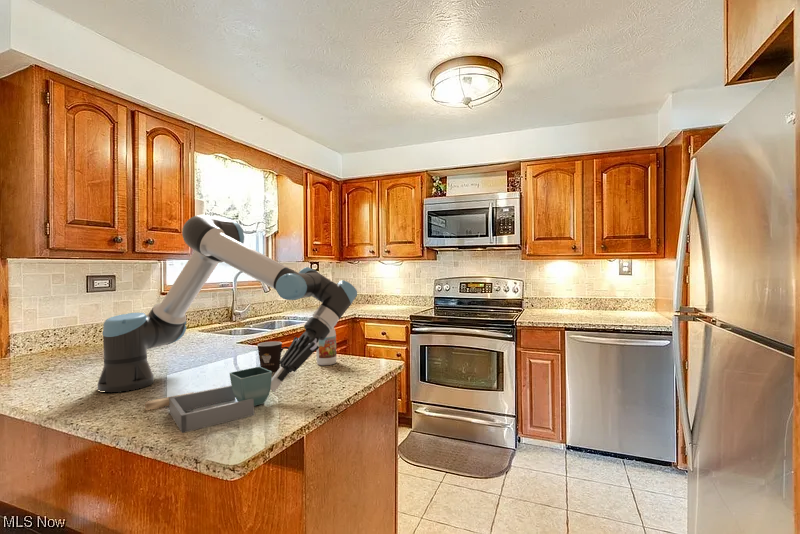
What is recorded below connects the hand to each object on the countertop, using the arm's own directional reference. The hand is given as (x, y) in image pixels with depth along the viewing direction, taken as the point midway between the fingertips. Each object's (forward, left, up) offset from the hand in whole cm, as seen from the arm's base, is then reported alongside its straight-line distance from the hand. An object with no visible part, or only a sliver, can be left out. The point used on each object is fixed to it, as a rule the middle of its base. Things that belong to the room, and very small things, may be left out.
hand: (269, 388), depth 112 cm
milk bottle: (+21, +38, -4) cm, 43 cm away
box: (-15, -4, -3) cm, 16 cm away
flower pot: (-5, -1, -4) cm, 6 cm away
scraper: (-26, +9, -4) cm, 27 cm away
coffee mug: (+1, +34, -4) cm, 34 cm away
